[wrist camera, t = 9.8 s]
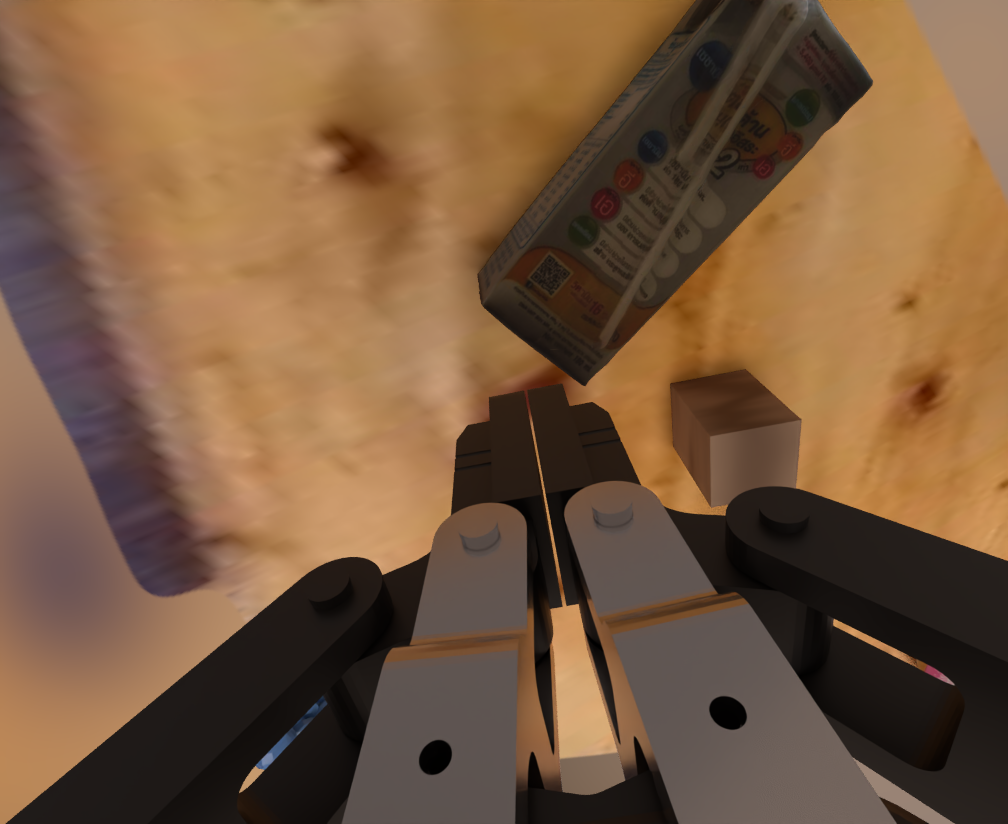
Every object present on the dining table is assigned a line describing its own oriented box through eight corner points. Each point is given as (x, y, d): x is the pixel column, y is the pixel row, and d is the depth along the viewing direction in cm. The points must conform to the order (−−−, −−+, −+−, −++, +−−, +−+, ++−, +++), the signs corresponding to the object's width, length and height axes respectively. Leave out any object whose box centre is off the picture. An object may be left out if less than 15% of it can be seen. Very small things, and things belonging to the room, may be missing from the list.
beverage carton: (812, 91, 29) (898, 83, 23) (567, 355, 35) (585, 401, 29) (716, -32, 26) (785, -77, 20) (469, 277, 33) (468, 311, 27)
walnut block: (745, 369, 36) (801, 419, 30) (743, 433, 38) (795, 492, 32) (670, 383, 36) (710, 436, 30) (673, 446, 38) (710, 507, 32)
